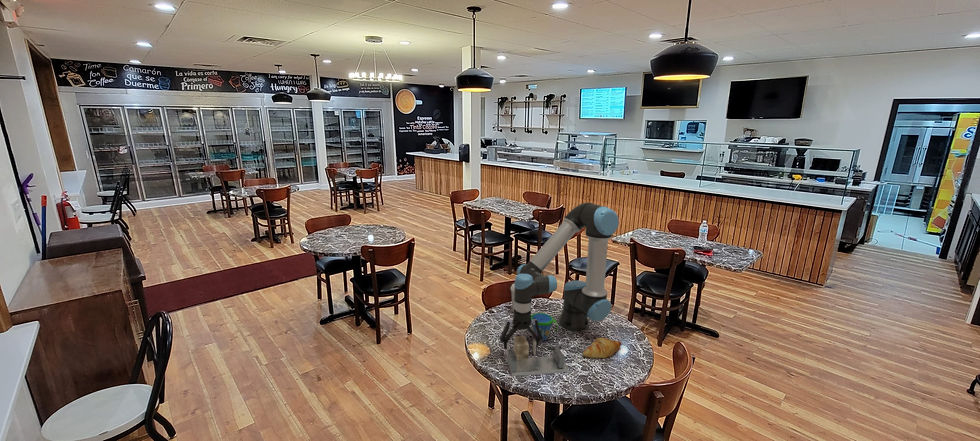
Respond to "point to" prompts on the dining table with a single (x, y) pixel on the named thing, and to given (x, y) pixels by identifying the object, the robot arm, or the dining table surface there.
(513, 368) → the fixed jaw
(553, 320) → the snack cup
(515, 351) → the block
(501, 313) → the dining table surface
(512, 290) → the coffee cup
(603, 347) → the croissant
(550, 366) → the vise bed
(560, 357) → the sliding jaw
